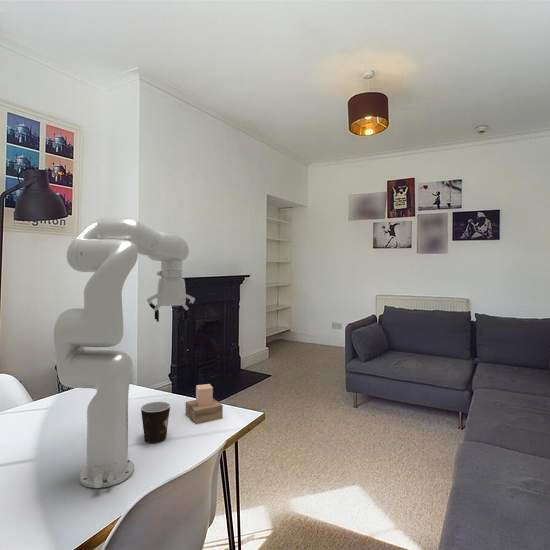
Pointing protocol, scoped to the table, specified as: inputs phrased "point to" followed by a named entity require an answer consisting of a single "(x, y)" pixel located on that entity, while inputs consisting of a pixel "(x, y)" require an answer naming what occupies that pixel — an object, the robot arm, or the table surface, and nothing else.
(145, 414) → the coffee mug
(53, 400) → the table surface
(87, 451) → the robot arm
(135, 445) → the table surface
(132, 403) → the table surface
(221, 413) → the walnut box
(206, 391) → the terracotta cube
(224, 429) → the table surface
